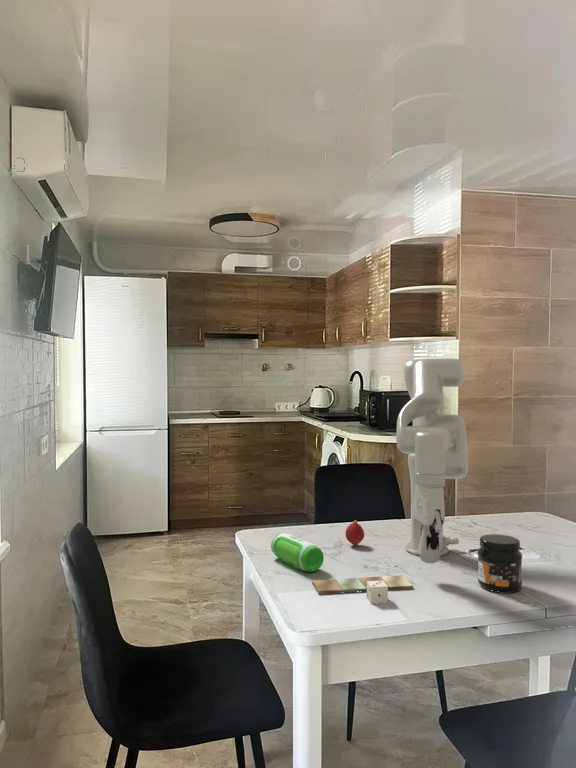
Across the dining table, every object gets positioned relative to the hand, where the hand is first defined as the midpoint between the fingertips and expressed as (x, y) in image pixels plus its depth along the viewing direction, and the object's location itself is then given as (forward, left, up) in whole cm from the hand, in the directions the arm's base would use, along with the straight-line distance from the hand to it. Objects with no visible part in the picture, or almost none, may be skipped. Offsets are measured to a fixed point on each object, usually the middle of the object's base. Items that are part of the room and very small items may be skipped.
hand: (429, 548), depth 153 cm
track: (+18, +1, -8) cm, 20 cm away
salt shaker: (0, 0, -4) cm, 4 cm away
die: (+18, +11, -8) cm, 22 cm away
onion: (+10, -34, -9) cm, 36 cm away
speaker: (+32, -18, -9) cm, 38 cm away
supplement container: (-16, +7, -9) cm, 19 cm away
